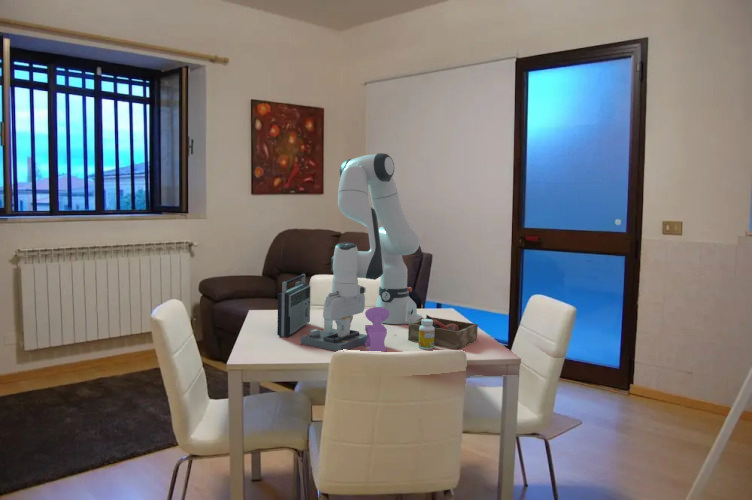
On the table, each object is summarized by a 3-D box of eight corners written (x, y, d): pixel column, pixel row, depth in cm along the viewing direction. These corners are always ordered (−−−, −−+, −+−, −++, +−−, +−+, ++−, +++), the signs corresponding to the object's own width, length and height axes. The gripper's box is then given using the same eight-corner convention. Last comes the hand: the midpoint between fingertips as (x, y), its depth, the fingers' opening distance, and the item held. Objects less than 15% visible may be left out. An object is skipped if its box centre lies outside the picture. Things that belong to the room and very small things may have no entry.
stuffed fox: (418, 317, 223) (444, 312, 229) (429, 346, 219) (455, 340, 225) (429, 309, 217) (455, 304, 223) (440, 338, 213) (466, 333, 219)
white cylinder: (342, 335, 212) (342, 315, 212) (349, 336, 211) (350, 316, 210) (337, 336, 210) (338, 316, 209) (345, 337, 208) (345, 318, 208)
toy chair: (385, 345, 211) (386, 302, 210) (389, 351, 203) (391, 307, 201) (361, 345, 210) (362, 302, 208) (365, 352, 201) (366, 308, 200)
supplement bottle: (417, 345, 212) (418, 318, 211) (432, 345, 212) (433, 318, 211) (419, 349, 206) (420, 321, 205) (435, 349, 207) (436, 321, 206)
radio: (291, 338, 217) (292, 283, 215) (277, 336, 218) (278, 282, 216) (311, 323, 241) (312, 274, 239) (299, 322, 242) (300, 273, 240)
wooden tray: (428, 332, 232) (429, 316, 232) (477, 340, 222) (477, 324, 221) (408, 340, 219) (408, 323, 218) (458, 349, 208) (459, 332, 208)
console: (330, 334, 223) (330, 314, 223) (368, 342, 214) (369, 321, 213) (301, 344, 209) (301, 322, 208) (340, 352, 200) (341, 330, 199)
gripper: (334, 294, 198) (333, 336, 200) (368, 287, 216) (367, 325, 217) (319, 292, 202) (318, 333, 203) (353, 285, 219) (352, 323, 220)
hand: (343, 329), depth 210 cm, fingers closed on white cylinder, 3 cm apart
